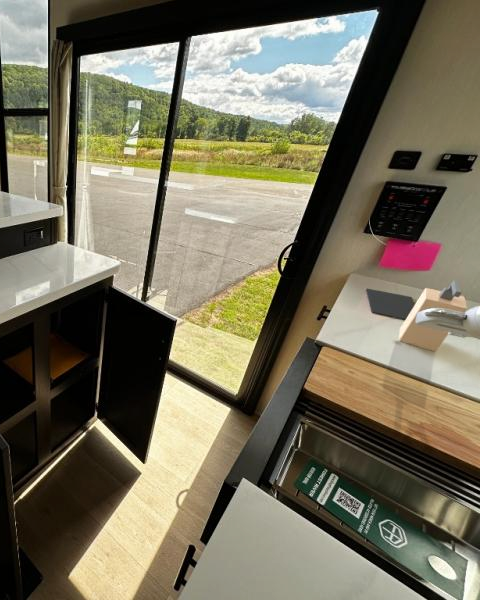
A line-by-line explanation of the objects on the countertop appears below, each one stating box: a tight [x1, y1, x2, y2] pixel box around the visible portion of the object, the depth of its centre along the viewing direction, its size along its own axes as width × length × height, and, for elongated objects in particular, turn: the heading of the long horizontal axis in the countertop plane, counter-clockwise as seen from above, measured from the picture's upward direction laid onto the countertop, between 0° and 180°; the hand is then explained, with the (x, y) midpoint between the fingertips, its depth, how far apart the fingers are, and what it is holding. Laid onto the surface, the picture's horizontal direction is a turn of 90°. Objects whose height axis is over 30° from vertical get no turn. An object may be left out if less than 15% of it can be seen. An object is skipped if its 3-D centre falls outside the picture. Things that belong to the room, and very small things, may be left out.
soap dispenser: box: [398, 279, 468, 352], centre depth 96 cm, size 13×9×22 cm
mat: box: [365, 288, 416, 321], centre depth 120 cm, size 14×20×1 cm
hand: (455, 333), depth 85 cm, fingers closed
